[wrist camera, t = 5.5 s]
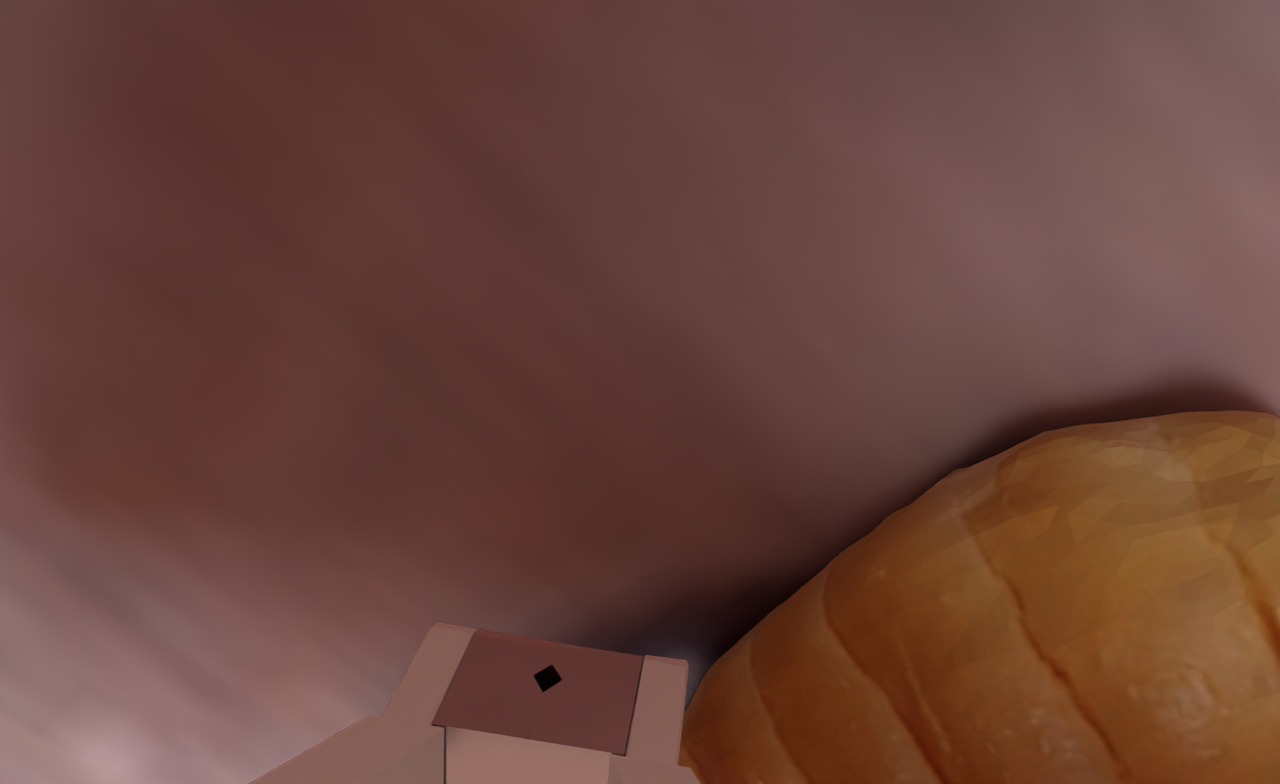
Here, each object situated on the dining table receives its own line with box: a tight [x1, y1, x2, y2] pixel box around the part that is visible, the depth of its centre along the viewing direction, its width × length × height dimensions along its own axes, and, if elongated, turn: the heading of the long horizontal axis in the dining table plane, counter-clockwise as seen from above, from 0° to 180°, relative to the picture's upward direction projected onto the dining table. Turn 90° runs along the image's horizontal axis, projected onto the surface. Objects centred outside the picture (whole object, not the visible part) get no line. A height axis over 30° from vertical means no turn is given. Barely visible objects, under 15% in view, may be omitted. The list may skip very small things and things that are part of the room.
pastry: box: [678, 411, 1280, 784], centre depth 11 cm, size 9×7×4 cm
